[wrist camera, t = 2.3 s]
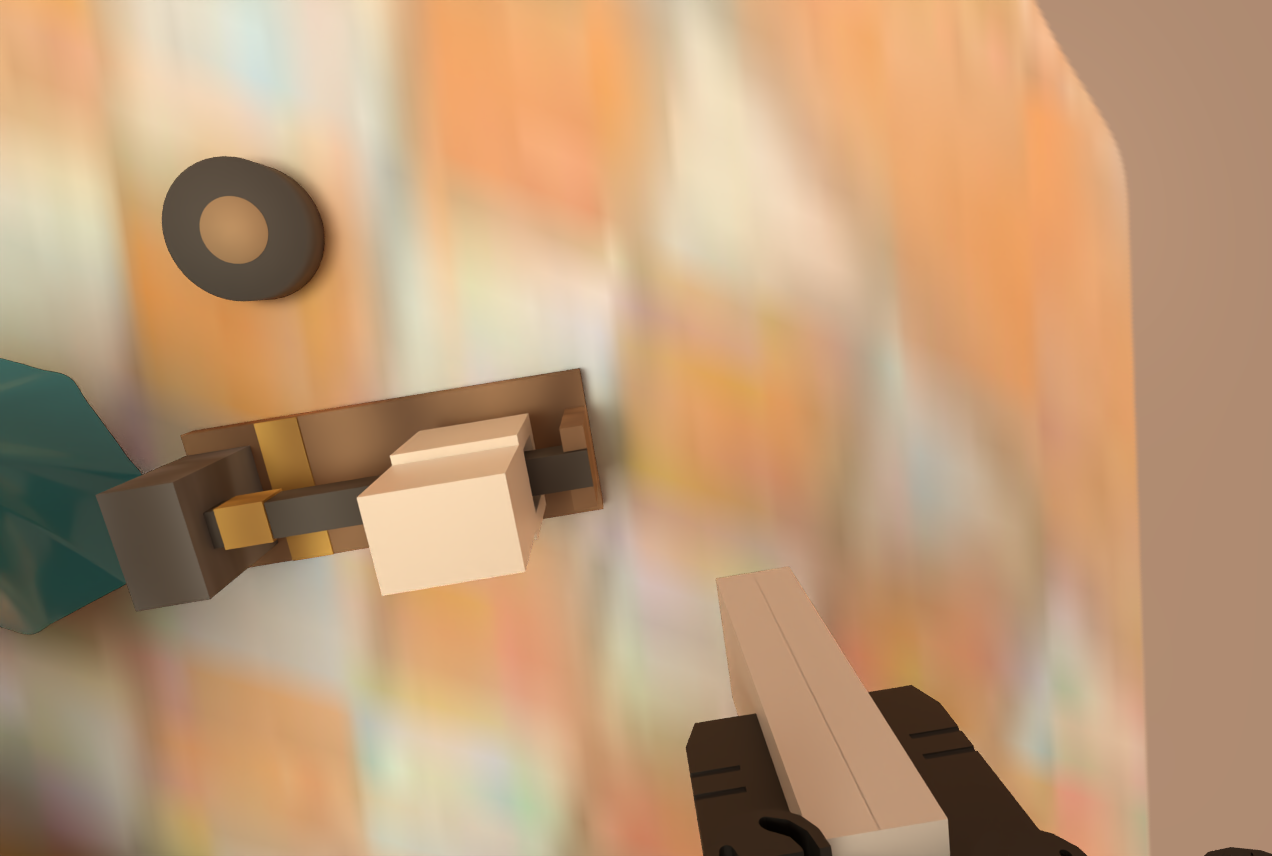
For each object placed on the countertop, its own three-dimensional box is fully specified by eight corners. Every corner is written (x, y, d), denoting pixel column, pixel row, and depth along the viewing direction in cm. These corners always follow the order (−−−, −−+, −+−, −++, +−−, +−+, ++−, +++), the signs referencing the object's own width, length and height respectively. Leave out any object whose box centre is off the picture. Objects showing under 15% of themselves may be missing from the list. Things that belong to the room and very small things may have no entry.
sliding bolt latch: (233, 563, 35) (143, 633, 28) (192, 430, 33) (86, 470, 26) (603, 502, 35) (604, 556, 28) (579, 368, 33) (574, 391, 27)
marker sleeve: (440, 521, 32) (384, 606, 24) (419, 431, 31) (353, 486, 23) (545, 504, 32) (527, 582, 24) (528, 413, 31) (502, 461, 23)
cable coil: (211, 309, 32) (184, 311, 30) (172, 175, 31) (141, 167, 29) (338, 288, 32) (320, 289, 30) (305, 154, 31) (284, 145, 29)
